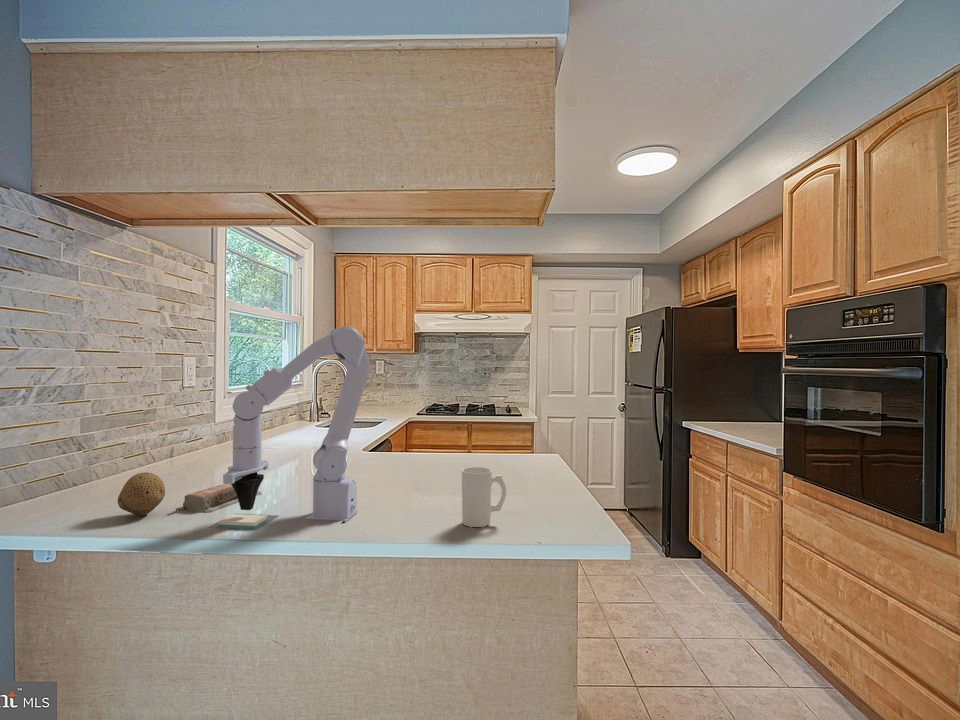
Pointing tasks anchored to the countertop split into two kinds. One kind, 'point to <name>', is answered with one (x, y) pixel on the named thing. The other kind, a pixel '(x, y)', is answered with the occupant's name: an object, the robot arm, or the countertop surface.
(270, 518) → the mat
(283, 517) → the countertop surface
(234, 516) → the tile
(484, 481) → the mug
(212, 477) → the countertop surface
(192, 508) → the old brick
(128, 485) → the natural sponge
